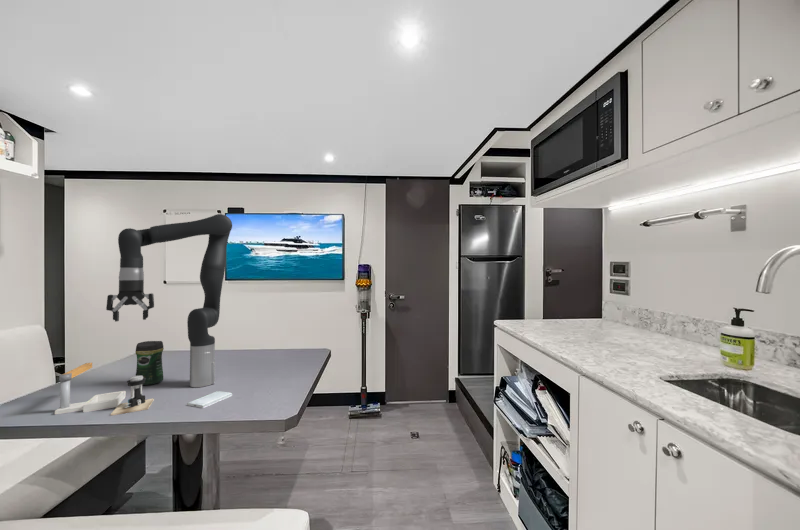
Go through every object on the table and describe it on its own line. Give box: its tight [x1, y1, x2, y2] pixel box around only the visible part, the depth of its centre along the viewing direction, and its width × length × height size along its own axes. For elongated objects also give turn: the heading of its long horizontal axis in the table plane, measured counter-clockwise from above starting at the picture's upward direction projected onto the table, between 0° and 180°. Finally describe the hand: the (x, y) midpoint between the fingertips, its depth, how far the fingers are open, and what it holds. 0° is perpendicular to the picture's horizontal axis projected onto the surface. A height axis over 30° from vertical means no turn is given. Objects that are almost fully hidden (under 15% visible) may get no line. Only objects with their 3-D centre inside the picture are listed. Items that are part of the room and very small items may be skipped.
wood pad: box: [110, 398, 155, 416], centre depth 114 cm, size 10×10×1 cm
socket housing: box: [54, 380, 127, 415], centre depth 116 cm, size 17×11×10 cm, turn 118°
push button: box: [124, 375, 146, 408], centre depth 115 cm, size 7×5×10 cm
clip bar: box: [58, 362, 93, 382], centre depth 120 cm, size 18×3×2 cm, turn 24°
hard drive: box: [186, 390, 233, 409], centre depth 120 cm, size 2×8×12 cm
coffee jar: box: [135, 340, 165, 386], centre depth 141 cm, size 10×8×19 cm
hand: (130, 320), depth 125 cm, fingers open, 8 cm apart
